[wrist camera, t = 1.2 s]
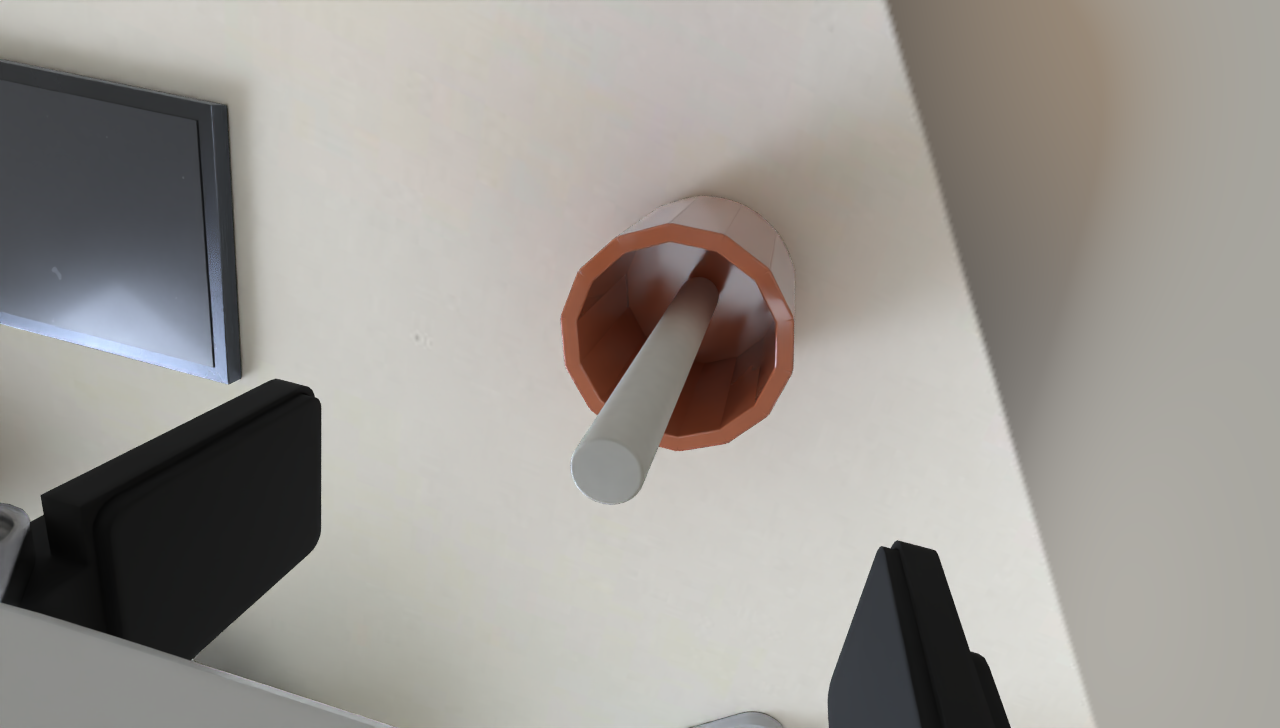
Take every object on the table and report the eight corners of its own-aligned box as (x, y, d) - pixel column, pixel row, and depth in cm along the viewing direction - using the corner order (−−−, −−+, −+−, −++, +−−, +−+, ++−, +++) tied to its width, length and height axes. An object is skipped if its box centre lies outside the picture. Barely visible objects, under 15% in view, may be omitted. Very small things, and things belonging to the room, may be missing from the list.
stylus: (687, 266, 25) (574, 429, 12) (725, 275, 25) (649, 448, 12) (680, 303, 26) (564, 494, 13) (717, 311, 26) (636, 514, 13)
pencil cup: (632, 179, 25) (575, 202, 19) (817, 216, 24) (824, 255, 18) (605, 346, 28) (546, 418, 21) (772, 386, 27) (764, 474, 20)
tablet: (-104, 37, 30) (-128, 35, 29) (227, 105, 27) (210, 105, 27) (-47, 302, 34) (-67, 307, 33) (241, 378, 32) (228, 385, 31)
